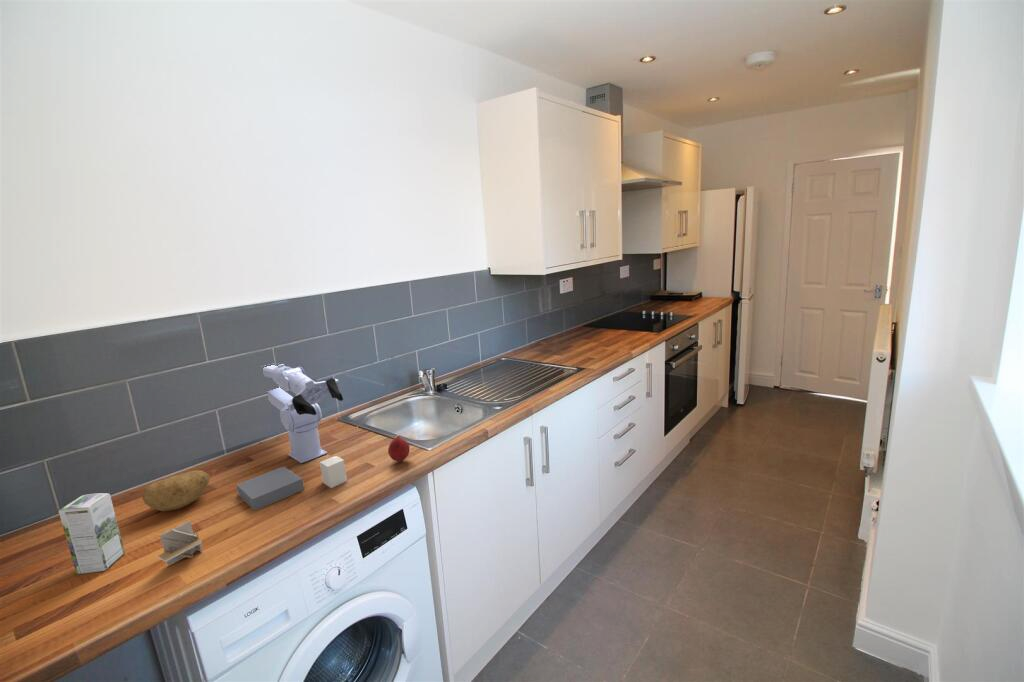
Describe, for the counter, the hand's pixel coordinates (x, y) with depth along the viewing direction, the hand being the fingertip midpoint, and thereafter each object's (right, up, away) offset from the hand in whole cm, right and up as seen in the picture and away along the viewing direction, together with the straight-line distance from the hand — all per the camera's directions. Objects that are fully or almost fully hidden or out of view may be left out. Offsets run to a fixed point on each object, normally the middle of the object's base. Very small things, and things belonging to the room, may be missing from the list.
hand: (327, 404), depth 125 cm
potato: (-35, -25, -5) cm, 43 cm away
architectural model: (-19, -29, -27) cm, 44 cm away
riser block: (-14, -22, -2) cm, 26 cm away
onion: (+17, -18, +9) cm, 26 cm away
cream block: (+2, -21, +1) cm, 21 cm away
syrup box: (-36, -30, -27) cm, 54 cm away
